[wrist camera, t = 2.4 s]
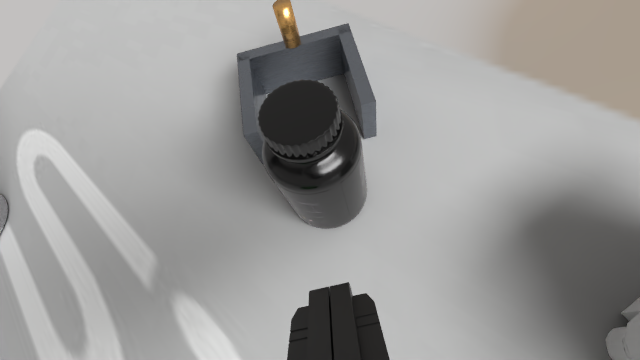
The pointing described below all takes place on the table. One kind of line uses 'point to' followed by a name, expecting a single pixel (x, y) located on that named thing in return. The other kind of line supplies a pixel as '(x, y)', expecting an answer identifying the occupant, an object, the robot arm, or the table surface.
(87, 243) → the table surface
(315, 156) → the supplement bottle
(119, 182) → the table surface
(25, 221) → the table surface
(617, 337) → the hinge
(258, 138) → the keeper cradle
